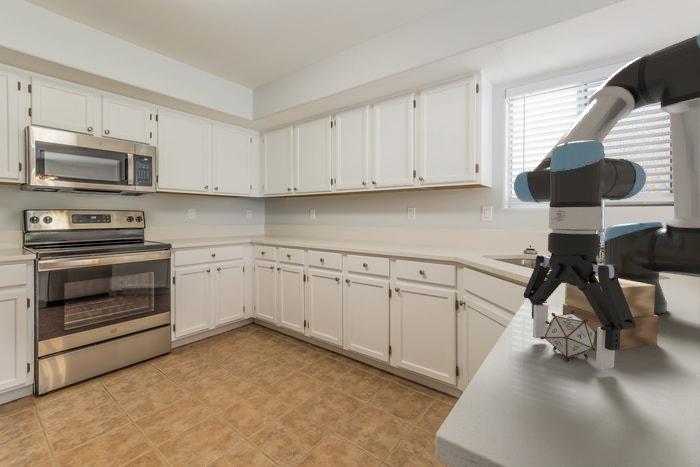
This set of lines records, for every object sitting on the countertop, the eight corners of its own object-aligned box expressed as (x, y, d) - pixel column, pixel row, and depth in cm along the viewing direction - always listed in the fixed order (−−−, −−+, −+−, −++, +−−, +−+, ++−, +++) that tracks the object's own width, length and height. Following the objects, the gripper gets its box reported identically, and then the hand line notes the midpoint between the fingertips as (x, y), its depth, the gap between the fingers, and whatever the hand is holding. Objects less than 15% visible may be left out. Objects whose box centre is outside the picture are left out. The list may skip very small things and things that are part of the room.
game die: (581, 380, 56) (622, 350, 50) (532, 360, 57) (566, 328, 51) (571, 340, 63) (606, 309, 56) (528, 322, 64) (558, 291, 58)
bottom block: (601, 326, 73) (602, 301, 72) (657, 345, 62) (658, 315, 62) (562, 330, 70) (562, 304, 70) (612, 351, 60) (613, 320, 59)
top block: (603, 301, 72) (604, 275, 71) (653, 315, 62) (655, 285, 62) (566, 304, 70) (567, 277, 69) (612, 319, 60) (614, 287, 60)
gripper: (506, 229, 67) (504, 328, 68) (632, 236, 43) (624, 389, 44) (536, 228, 68) (533, 325, 70) (673, 235, 45) (665, 382, 46)
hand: (568, 350), depth 57 cm, fingers open, 12 cm apart
